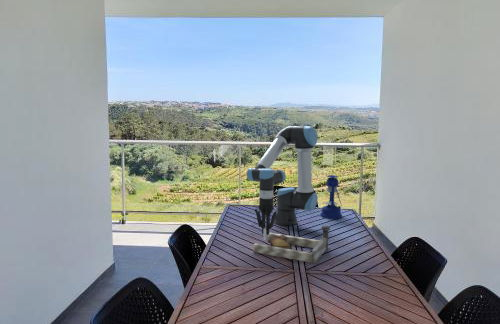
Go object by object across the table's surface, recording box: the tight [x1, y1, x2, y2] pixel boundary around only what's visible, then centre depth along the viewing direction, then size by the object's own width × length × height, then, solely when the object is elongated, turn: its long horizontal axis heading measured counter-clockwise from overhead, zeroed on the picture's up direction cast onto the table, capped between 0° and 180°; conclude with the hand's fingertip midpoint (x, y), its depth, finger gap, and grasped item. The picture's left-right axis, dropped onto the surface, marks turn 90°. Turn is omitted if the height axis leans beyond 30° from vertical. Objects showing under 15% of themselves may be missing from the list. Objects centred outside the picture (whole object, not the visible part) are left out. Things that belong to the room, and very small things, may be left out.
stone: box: [269, 234, 291, 249], centre depth 196 cm, size 15×9×5 cm, turn 5°
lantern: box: [319, 174, 343, 220], centre depth 259 cm, size 17×15×30 cm
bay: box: [252, 225, 331, 264], centre depth 193 cm, size 34×26×12 cm
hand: (265, 239), depth 198 cm, fingers closed
